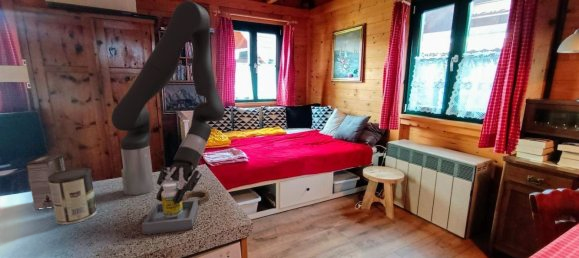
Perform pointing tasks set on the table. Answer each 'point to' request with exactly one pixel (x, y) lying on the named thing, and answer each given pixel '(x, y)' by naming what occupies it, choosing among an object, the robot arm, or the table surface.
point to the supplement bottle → (170, 200)
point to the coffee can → (72, 195)
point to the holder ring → (197, 193)
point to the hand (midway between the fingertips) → (167, 201)
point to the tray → (170, 218)
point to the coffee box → (43, 178)
